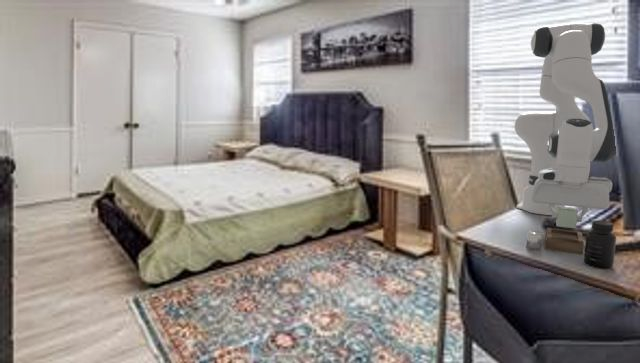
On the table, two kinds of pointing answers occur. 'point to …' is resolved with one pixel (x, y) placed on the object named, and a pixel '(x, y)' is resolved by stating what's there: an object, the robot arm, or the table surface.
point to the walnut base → (564, 240)
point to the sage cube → (566, 217)
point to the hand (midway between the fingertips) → (566, 219)
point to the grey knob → (534, 240)
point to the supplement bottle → (600, 245)
